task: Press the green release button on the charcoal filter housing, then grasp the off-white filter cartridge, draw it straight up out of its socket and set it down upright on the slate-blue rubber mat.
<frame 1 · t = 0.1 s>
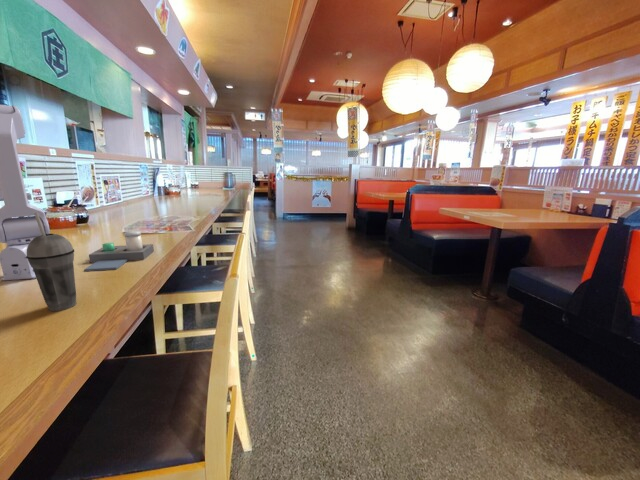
hand: (5, 222, 97), 11 cm above the counter, tool pointing down, fingers open, 7 cm apart
release button: (108, 248, 95), point 3 cm above the counter, slide at 0.0 cm
cartridge: (136, 255, 97), resting in housing
mat: (107, 265, 87), on the counter
housing: (124, 256, 97), on the counter
beverage cup: (63, 307, 62), on the counter
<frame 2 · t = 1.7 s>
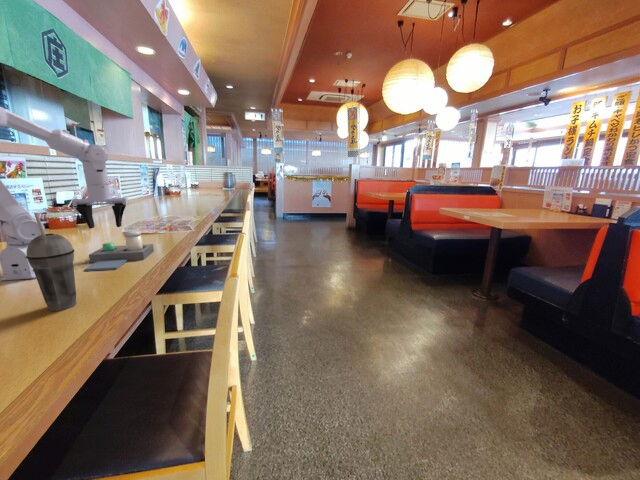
hand: (105, 227, 95), 10 cm above the counter, tool pointing down, fingers open, 7 cm apart
nothing on the counter moved.
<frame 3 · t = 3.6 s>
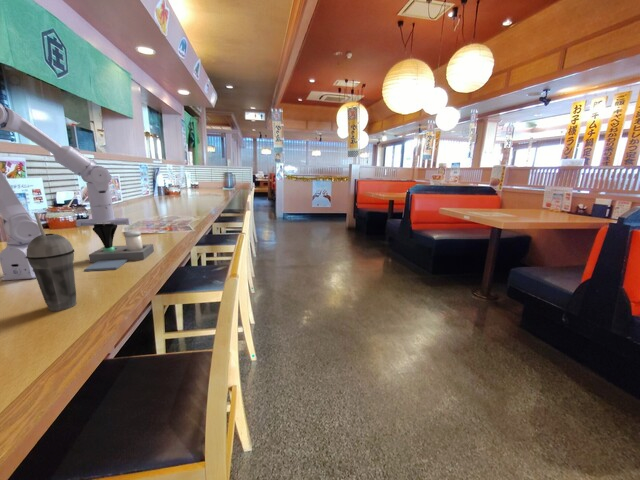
hand: (108, 247, 95), 3 cm above the counter, tool pointing down, fingers closed, pressing on release button
release button: (109, 251, 95), point 2 cm above the counter, slide at 1.1 cm, touching gripper
everything else where it was.
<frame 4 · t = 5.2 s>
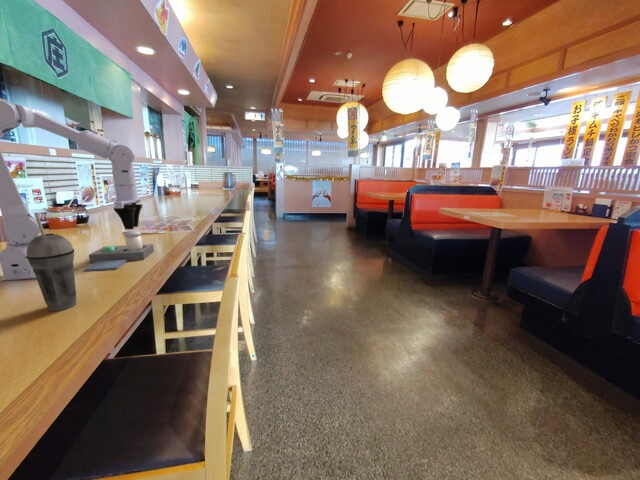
hand: (131, 227, 95), 9 cm above the counter, tool pointing down, fingers open, 3 cm apart
release button: (109, 251, 95), point 2 cm above the counter, slide at 1.1 cm
everything else where it was.
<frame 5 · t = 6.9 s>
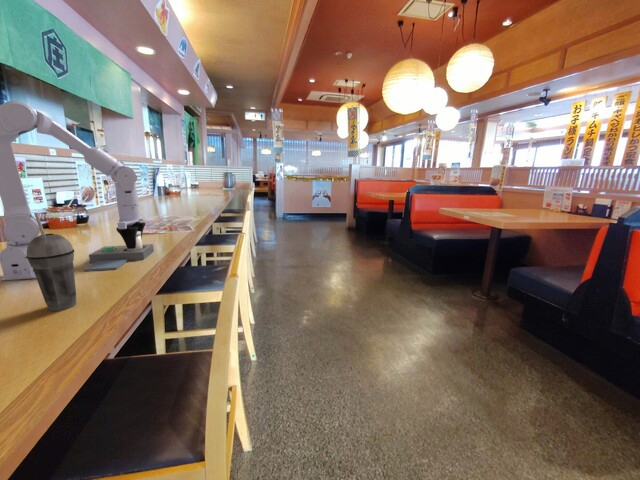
hand: (134, 246, 97), 3 cm above the counter, tool pointing down, fingers closed on cartridge, 4 cm apart
cartridge: (136, 255, 97), resting in housing, touching gripper
everything else where it was.
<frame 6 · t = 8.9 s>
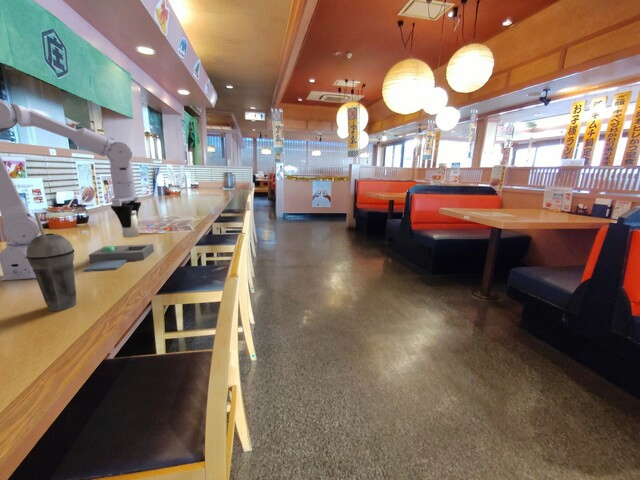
hand: (129, 226, 94), 10 cm above the counter, tool pointing down, fingers closed on cartridge, 4 cm apart
cartridge: (131, 235, 95), point 7 cm above the counter, touching gripper
everything else where it was.
when the fingers open (5 cm above the counter, at t = 11.3 s): cartridge drops 1 cm, resting on mat.
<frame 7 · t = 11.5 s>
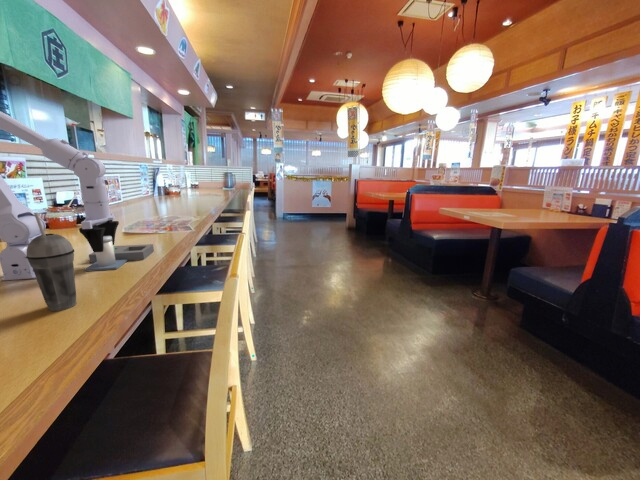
hand: (104, 248, 86), 5 cm above the counter, tool pointing down, fingers open, 6 cm apart
cartridge: (107, 263, 87), point 1 cm above the counter, touching mat
everything else where it was.
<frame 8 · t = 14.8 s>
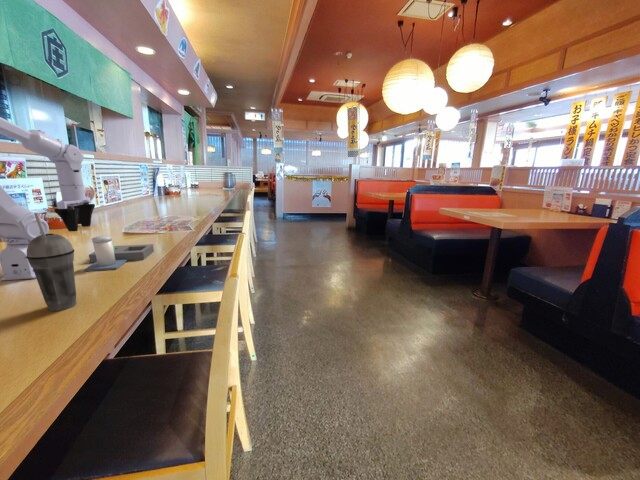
hand: (80, 228, 94), 9 cm above the counter, tool pointing down, fingers open, 7 cm apart
nothing on the counter moved.
at the end: release button slide at 1.1 cm; cartridge 0.0 cm off-centre on the mat, point 0.6 cm above the mat's base; cartridge tilted 1° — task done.
